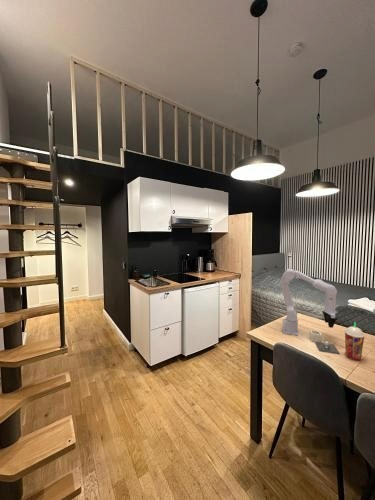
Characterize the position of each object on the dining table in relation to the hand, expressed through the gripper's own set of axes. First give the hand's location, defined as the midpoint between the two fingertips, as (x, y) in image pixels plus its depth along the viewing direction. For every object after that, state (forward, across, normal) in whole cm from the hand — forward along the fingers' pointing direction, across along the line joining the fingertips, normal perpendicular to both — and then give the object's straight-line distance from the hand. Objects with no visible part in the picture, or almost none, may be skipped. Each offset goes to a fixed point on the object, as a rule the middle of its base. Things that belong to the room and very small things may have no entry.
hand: (328, 324), depth 135 cm
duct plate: (+10, -13, +4) cm, 17 cm away
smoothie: (+10, -19, -7) cm, 22 cm away
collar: (+10, -4, +8) cm, 13 cm away
